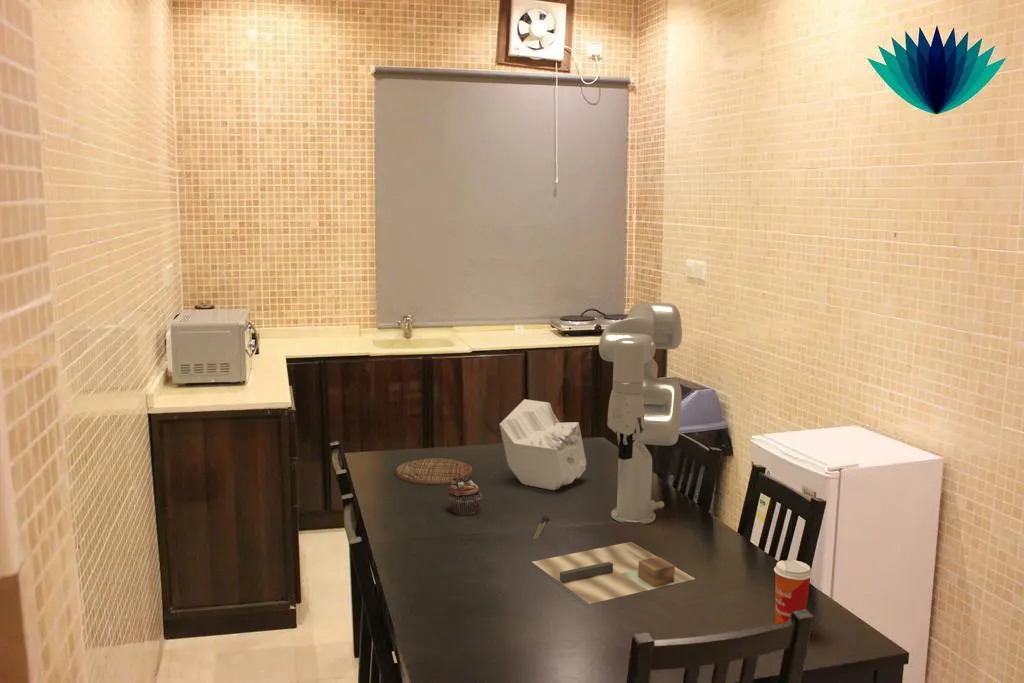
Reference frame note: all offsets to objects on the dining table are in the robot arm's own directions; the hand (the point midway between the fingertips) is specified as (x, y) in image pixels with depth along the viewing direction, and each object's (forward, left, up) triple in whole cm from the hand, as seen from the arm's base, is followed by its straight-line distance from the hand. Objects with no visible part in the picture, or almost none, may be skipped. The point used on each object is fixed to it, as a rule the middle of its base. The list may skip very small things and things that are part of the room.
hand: (625, 458), depth 223 cm
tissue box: (-10, -57, -25) cm, 63 cm away
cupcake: (+23, -46, -25) cm, 57 cm away
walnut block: (+4, +19, -24) cm, 31 cm away
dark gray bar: (+18, +10, -24) cm, 32 cm away
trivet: (+17, -83, -26) cm, 89 cm away
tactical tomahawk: (+11, -22, -26) cm, 35 cm away
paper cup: (-8, +50, -25) cm, 57 cm away
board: (+10, +10, -25) cm, 29 cm away
